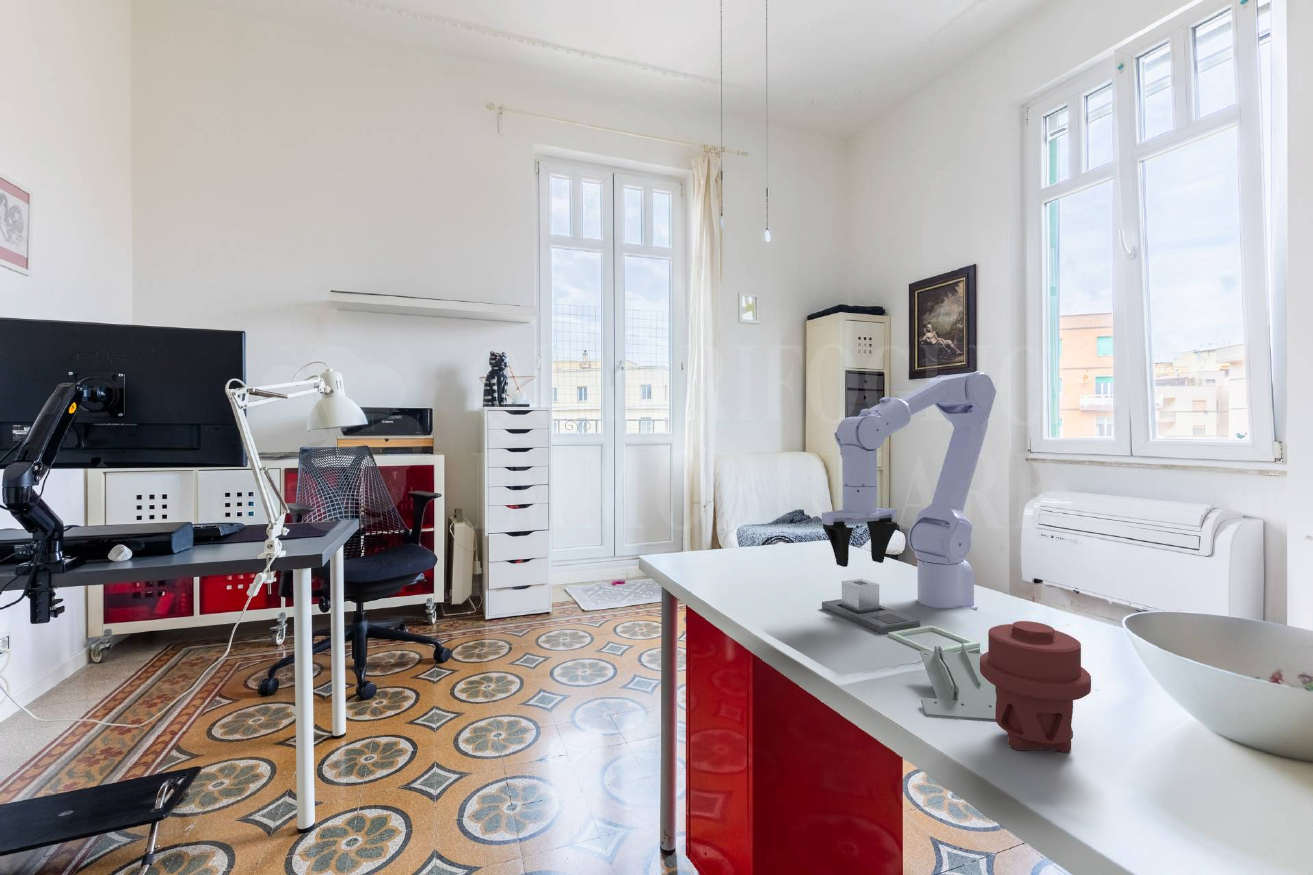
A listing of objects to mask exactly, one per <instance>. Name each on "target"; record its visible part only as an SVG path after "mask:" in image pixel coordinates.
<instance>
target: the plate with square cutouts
mask: <svg viewBox="0 0 1313 875" xmlns="http://www.w3.org/2000/svg"><path fill="white" fill-rule="evenodd" d="M821 610H824V611H826V612H829V613H831V614H833V615H836V616H838V617H840V618H842V619H844V620H847V621H850V622H852V623H854V624H855V625H858V626H861V627H863V628H865V629H867V630H870V631H871V632H874V633H877V634H879V635H886V634H887V635H888V632H894V631H900V630H906V629H912V628H918V627H921V620H920V619H918V618H916V617H913V616H910V615H908V614H904V613H902V612H900V611H897V610H894V609H892V608H888V607H885V606H884V605H880V604H879V611H876V612H870V613H863V614H856V613H854V612H851V611H849V610H847V609H844V608H842V598H839V599H832V600H826V601H821Z"/></svg>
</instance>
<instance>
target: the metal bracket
mask: <svg viewBox="0 0 1313 875" xmlns="http://www.w3.org/2000/svg"><path fill="white" fill-rule="evenodd" d="M961 644H962V650H961V653H959V651H955V652H943V651H942V648H943V647H942V646H939V645H938V646H937V645H935V646H934V648H933V649H934V651H922V650H920V652H919V654H920V656H921V659H922V662H923V664H924V667H925V670H926V673H927V676H928V678H929V680H930V683H931V686H932V689H933V692H934V694H935V697H936V698H933V697H932V698H930V697H921V699H920V703H921V705H922V708H923V709H922V710H923V712H924V714H925V716H926V717H927V718H932V719H941V720H942V719H943V720H944V719H945V720H947V719H948V720H971V721H972V720H973V721H988V722H996V718H995V710H996V692H995V685H993V684H992V683H990V682H989V681H988V680H987V679H986V678H985V677H984V676H983V675H982V674H981V673H980V657H981V656H982V655H983V654H984V653H978V654H977V653H968V652H967V651H968V649H966V648H965V646H964V643H961Z"/></svg>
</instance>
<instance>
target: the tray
mask: <svg viewBox="0 0 1313 875" xmlns="http://www.w3.org/2000/svg"><path fill="white" fill-rule="evenodd" d="M925 632H934V633H936V634H940V635H942V636H945V637H947V638H950V639H953V640H956V641H958V642H960V643H959V644H954V645H947V646H943V647H941V648H942V651H943V652H958V653H961V652H960V651H961V650H962V644H964V646H965V648H966V650H967V652H968V653H977V654H981V648H980V647H981V643H980V642H979V641H975V640H974V639H970V638H968V637H965V636H963V635H959V634H956V633H955V632H951V631H949V630H946V629H943V628H940V627H938V626H936V625H933V624H931V625H925V626H924V625H923V626H920V627H918V628H912V629H906V630H900V631H894V632H888V633H887V636H888V637H889V638H892V639H895V640H896V641H899V642H901V643H904V644H906V645H908V646H910V647H913V648H915V649H917V650H920V651H934V648H932V647H929V646H927V645H924V644H922V643H921V642H917V641H914V640H912V639H910V638H908V637H905V636H908V635H909V636H910V635H914V634H915V635H916V634H921V633H925ZM969 649H970V650H969Z"/></svg>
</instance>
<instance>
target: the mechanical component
mask: <svg viewBox="0 0 1313 875" xmlns="http://www.w3.org/2000/svg"><path fill="white" fill-rule="evenodd" d="M987 635H988V636H987V637H988V640H987V642H988V645H987V646H988V649H987V650H988V651H986V652H984V653H982V654H983V655H982V656H981V657H980V673H981V674H982V675H983V676H984V677H985V678H986V679H987V680H988V681H989V682H990V683H992V684H993V685H995V692H996V710H995V718H996V721H995V722H996V724H997V725H998V726H999V727H1000V728H1001V729H1002V730H1003V731H1004V732H1006V733H1007V744H1008V746H1009V747H1010V748H1011V749H1012V750H1015V751H1027V750H1028V751H1029V750H1047V751H1048V750H1049V751H1053V752H1054V751H1055V752H1061V753H1068V752H1070V751H1072V740H1073V737H1074V731H1073V728H1072V721H1073V713H1074V701H1076V700H1080V699H1082V698H1085V697H1086V696H1087V695H1090V693H1091V692H1092V676H1091V674H1090V673H1089V672H1088V671H1087V669H1085V668H1083V667H1082V644H1081V642H1080V641H1079V640H1077V638H1076V637H1073V636H1072V635H1070V634H1067V633H1065V632H1062V631H1059V630H1056V629H1055V628H1054V627H1052V626H1050V625H1048V624H1046V623H1042V622H1037V621H1029V620H1019V621H1015V622H1013V623H1011V624H1009V623H1008V624H998V625H995V626H993V627H991V628H989V629H988V634H987Z"/></svg>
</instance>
